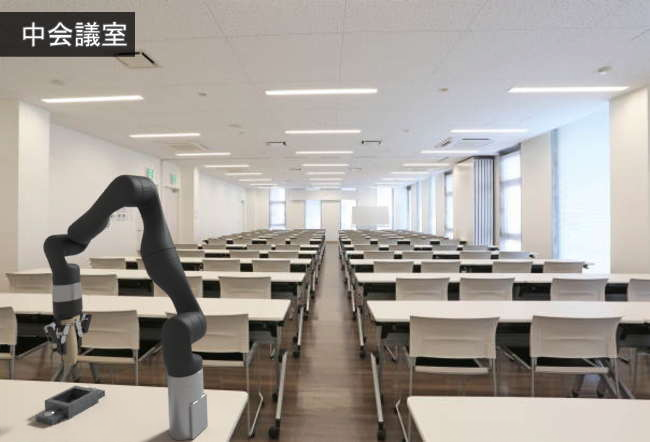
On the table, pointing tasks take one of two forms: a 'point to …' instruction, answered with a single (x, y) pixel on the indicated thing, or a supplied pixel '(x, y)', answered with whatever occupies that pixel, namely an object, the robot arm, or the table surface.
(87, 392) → the bracket
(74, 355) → the handle
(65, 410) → the chain end
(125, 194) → the robot arm
